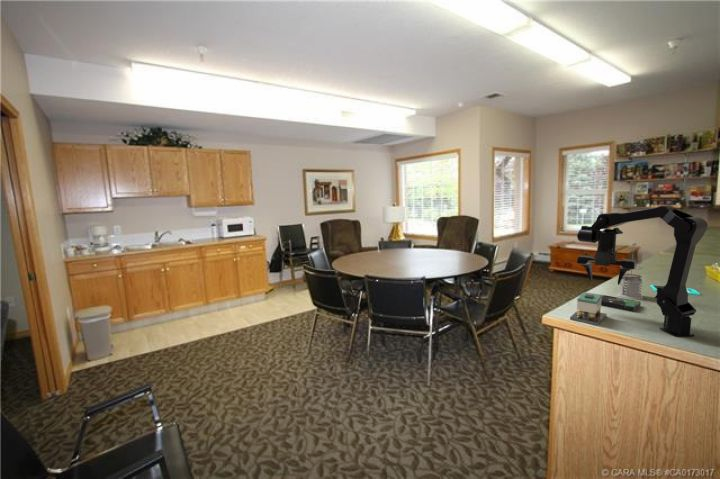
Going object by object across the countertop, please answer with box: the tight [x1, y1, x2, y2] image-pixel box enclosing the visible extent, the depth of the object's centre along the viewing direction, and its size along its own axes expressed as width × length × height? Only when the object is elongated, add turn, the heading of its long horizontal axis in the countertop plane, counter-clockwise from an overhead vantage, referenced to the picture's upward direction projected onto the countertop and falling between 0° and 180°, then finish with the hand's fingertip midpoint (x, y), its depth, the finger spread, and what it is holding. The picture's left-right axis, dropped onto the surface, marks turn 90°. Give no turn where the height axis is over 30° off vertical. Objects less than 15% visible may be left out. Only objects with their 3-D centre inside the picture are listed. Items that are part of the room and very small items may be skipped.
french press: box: [616, 242, 644, 300], centre depth 152 cm, size 10×12×25 cm
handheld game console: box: [650, 284, 701, 296], centre depth 160 cm, size 10×16×1 cm, turn 60°
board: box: [576, 291, 603, 314], centre depth 129 cm, size 11×6×5 cm, turn 136°
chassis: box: [569, 306, 607, 326], centre depth 130 cm, size 13×9×4 cm
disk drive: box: [601, 294, 642, 313], centre depth 143 cm, size 10×3×15 cm
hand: (604, 282), depth 135 cm, fingers open, 9 cm apart
